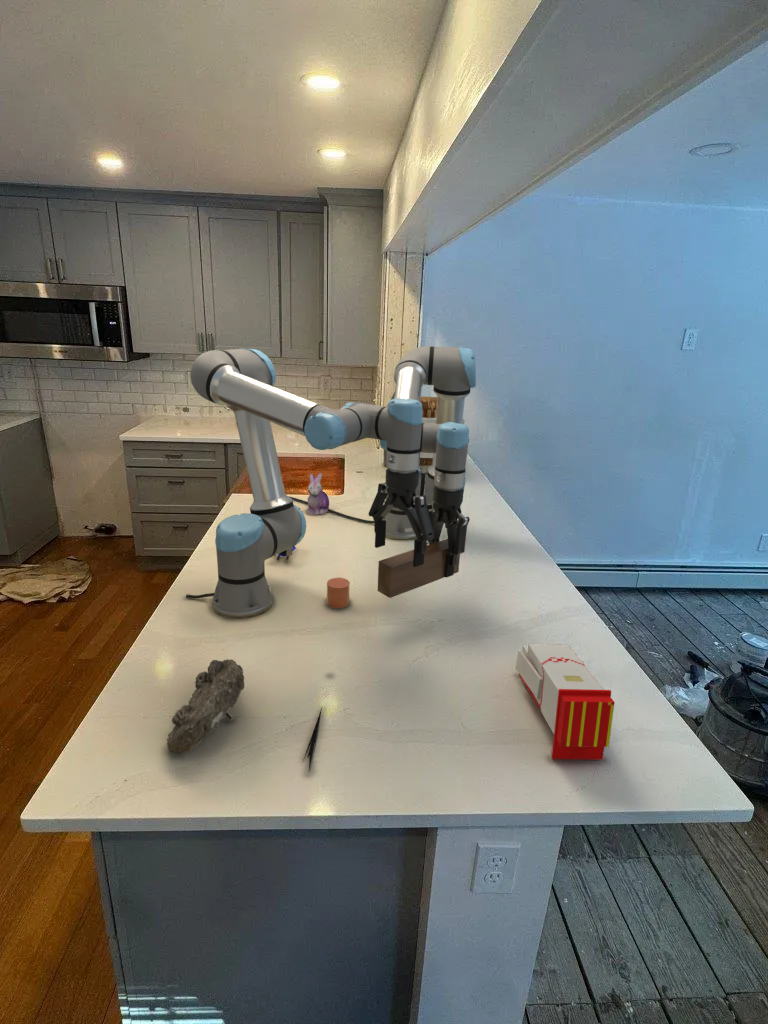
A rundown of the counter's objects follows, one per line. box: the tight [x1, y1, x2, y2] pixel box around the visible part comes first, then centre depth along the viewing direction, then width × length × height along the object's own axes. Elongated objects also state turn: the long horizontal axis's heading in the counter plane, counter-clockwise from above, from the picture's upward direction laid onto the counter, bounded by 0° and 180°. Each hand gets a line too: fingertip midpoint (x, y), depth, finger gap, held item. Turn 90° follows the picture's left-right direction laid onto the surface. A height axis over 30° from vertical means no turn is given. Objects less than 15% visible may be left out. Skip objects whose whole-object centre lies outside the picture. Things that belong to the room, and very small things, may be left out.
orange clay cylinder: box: [326, 577, 351, 609], centre depth 151 cm, size 6×6×6 cm
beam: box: [377, 538, 461, 599], centre depth 142 cm, size 5×24×8 cm, turn 131°
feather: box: [301, 673, 332, 771], centre depth 108 cm, size 2×28×2 cm
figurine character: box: [274, 545, 297, 562], centre depth 178 cm, size 7×8×15 cm
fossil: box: [166, 658, 245, 754], centre depth 106 cm, size 22×10×15 cm
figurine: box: [307, 472, 330, 516], centre depth 215 cm, size 9×10×15 cm
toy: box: [515, 643, 615, 761], centre depth 113 cm, size 12×13×30 cm
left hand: (398, 555), depth 135 cm, fingers open, 13 cm apart
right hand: (441, 571), depth 148 cm, fingers closed on beam, 5 cm apart
